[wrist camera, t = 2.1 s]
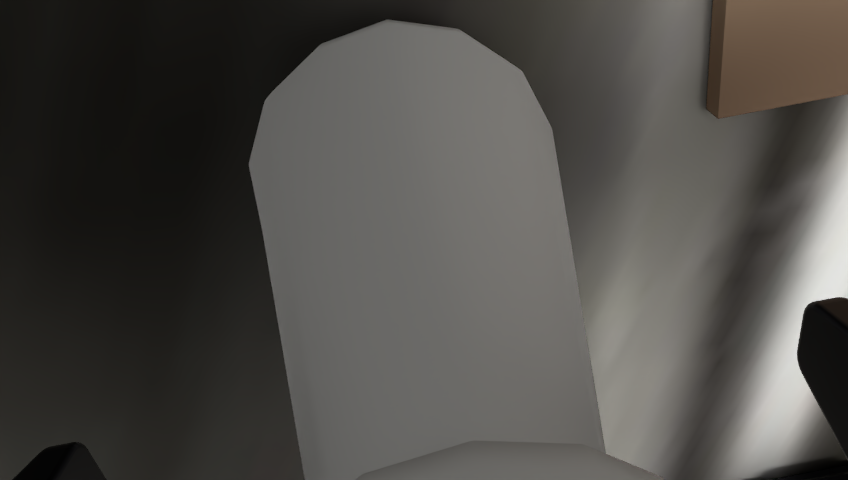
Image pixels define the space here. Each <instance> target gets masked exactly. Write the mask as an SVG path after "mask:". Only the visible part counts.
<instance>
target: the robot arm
mask: <svg viewBox="0 0 848 480" xmlns="http://www.w3.org/2000/svg"><path fill="white" fill-rule="evenodd" d="M797 358H798V364H799V367H800V370H801V372H802V374H803V376H804V378H805V380H806V382H807V384H808V386H809V387H810V389H811V391H812V393H813V395H814V397H815V399H816V401H817V403H818V405H819V407H820V408H821V410H822V412H823V414H824V416H825V418H826V420H827V422H828V424H829V426H830V428H831V429H832V431H833V433H834V435H835V437H836V439H837V441H838V443H839V445H840V447H841V449H842V450H843V452H844V454H845V456H846V458H847V460H848V299H847V298H842V297H837V298H831V299H826V300H821V301H815V302H812V303H810V304H808V305H807V307H806V308H805V310H804V314H803V320H802V326H801V332H800V338H799V344H798V350H797ZM12 480H106V478H105V477H104V475H103V473H102V472H101V470H100V468H99V467H98V465H97V464H96V462H95V460H94V459H93V457H92V456H91V454H90V452H89V451H88V449H87V448H86V447H85V446H84V445H83V444H81V443H79V442H72V443H67V444H62V445H56V446H51V447H48V448H46V449H44V450H43V451H41V452H40V453H39V454H38V455H37V456H36V457H35V458H34V459H33V460H32V461H31V462H30V463H29V464H28V465H27V466H26V467H25V468H24V469H23V470H22V471H21V472H20V473H19V474H18V475H17V476H15V477H14V478H13V479H12ZM773 480H848V465H847V466H842V467H836V468H831V469H826V470H821V471H815V472H810V473H805V474H800V475H794V476H789V477H784V478H779V479H773Z"/></svg>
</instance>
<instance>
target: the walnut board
mask: <svg viewBox="0 0 848 480" xmlns="http://www.w3.org/2000/svg"><path fill="white" fill-rule="evenodd" d="M845 94H848V0H713V6H712V23H711V39H710V55H709V71H708V88H707V104H706V109H707V110H708V111H710V112H711V113H712V114H713V115H714V116H715V117H716V118H718V119H720V118H725V117H730V116H736V115H741V114H746V113H751V112H756V111H762V110H767V109H772V108H777V107H783V106H788V105H793V104H798V103H804V102H809V101H814V100H819V99H825V98H830V97H835V96H840V95H845Z"/></svg>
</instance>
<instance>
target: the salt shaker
mask: <svg viewBox="0 0 848 480" xmlns="http://www.w3.org/2000/svg"><path fill="white" fill-rule="evenodd" d="M249 169H250V174H251V179H252V184H253V188H254V193H255V198H256V203H257V208H258V213H259V217H260V222H261V227H262V232H263V238H264V244H265V249H266V255H267V261H268V267H269V273H270V279H271V285H272V290H273V296H274V302H275V308H276V314H277V320H278V326H279V331H280V337H281V343H282V349H283V355H284V361H285V367H286V373H287V378H288V384H289V390H290V396H291V402H292V408H293V414H294V419H295V425H296V431H297V437H298V443H299V449H300V455H301V460H302V466H303V472H304V478H305V480H665V479H663V478H662V477H660V476H658V475H655V474H653V473H651V472H648V471H646V470H643V469H641V468H639V467H636V466H634V465H631V464H629V463H627V462H624V461H622V460H619V459H617V458H615V457H612V456H610V455H607V454H606V452H605V446H604V440H603V434H602V428H601V421H600V415H599V409H598V403H597V397H596V391H595V385H594V379H593V373H592V367H591V361H590V355H589V349H588V343H587V337H586V331H585V325H584V319H583V312H582V306H581V300H580V294H579V288H578V282H577V276H576V270H575V264H574V258H573V252H572V246H571V240H570V234H569V228H568V222H567V216H566V209H565V203H564V197H563V191H562V185H561V179H560V173H559V167H558V161H557V155H556V149H555V143H554V137H553V131H552V127H551V125H550V124H549V122H548V120H547V118H546V116H545V114H544V112H543V110H542V108H541V106H540V104H539V102H538V100H537V99H536V97H535V95H534V93H533V91H532V89H531V87H530V85H529V83H528V81H527V79H526V77H525V75H524V74H523V72H522V71H521V70H520V69H519V68H517V67H516V66H514V65H513V64H511V63H510V62H508V61H507V60H505V59H504V58H502V57H501V56H499V55H498V54H496V53H495V52H493V51H492V50H490V49H489V48H487V47H485V46H484V45H482V44H481V43H479V42H478V41H476V40H475V39H473V38H472V37H470V36H469V35H467V34H466V33H464V32H462V31H461V30H459V29H457V28H449V27H442V26H434V25H426V24H419V23H411V22H403V21H396V20H388V19H387V20H384V21H381V22H379V23H376V24H373V25H370V26H368V27H365V28H362V29H360V30H357V31H354V32H352V33H349V34H346V35H343V36H341V37H338V38H335V39H333V40H330V41H327V42H324V43H322V44H320V45H319V46H318V47H317V48H316V49H315V50H314V51H313V52H312V53H311V54H310V55H309V56H308V57H307V58H306V59H305V60H304V61H303V62H302V63H301V64H300V65H299V66H298V67H297V68H296V69H295V70H294V71H293V72H292V73H291V74H290V75H289V76H288V77H287V78H286V79H284V80H283V81H282V82H281V83H280V84H279V85H278V86H277V87H276V88H275V89H274V90H273V91H272V92H271V94H270V95H269V96H268V97H267V98H266V100H265V101H264V105H263V109H262V113H261V117H260V121H259V125H258V129H257V133H256V137H255V141H254V145H253V149H252V152H251V156H250V160H249Z"/></svg>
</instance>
